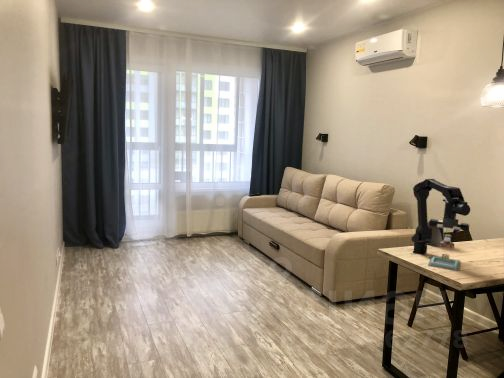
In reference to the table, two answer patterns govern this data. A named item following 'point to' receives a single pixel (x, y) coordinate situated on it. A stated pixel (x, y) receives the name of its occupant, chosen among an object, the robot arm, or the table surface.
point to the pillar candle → (435, 236)
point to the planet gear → (446, 242)
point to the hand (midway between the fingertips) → (447, 240)
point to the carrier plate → (444, 262)
